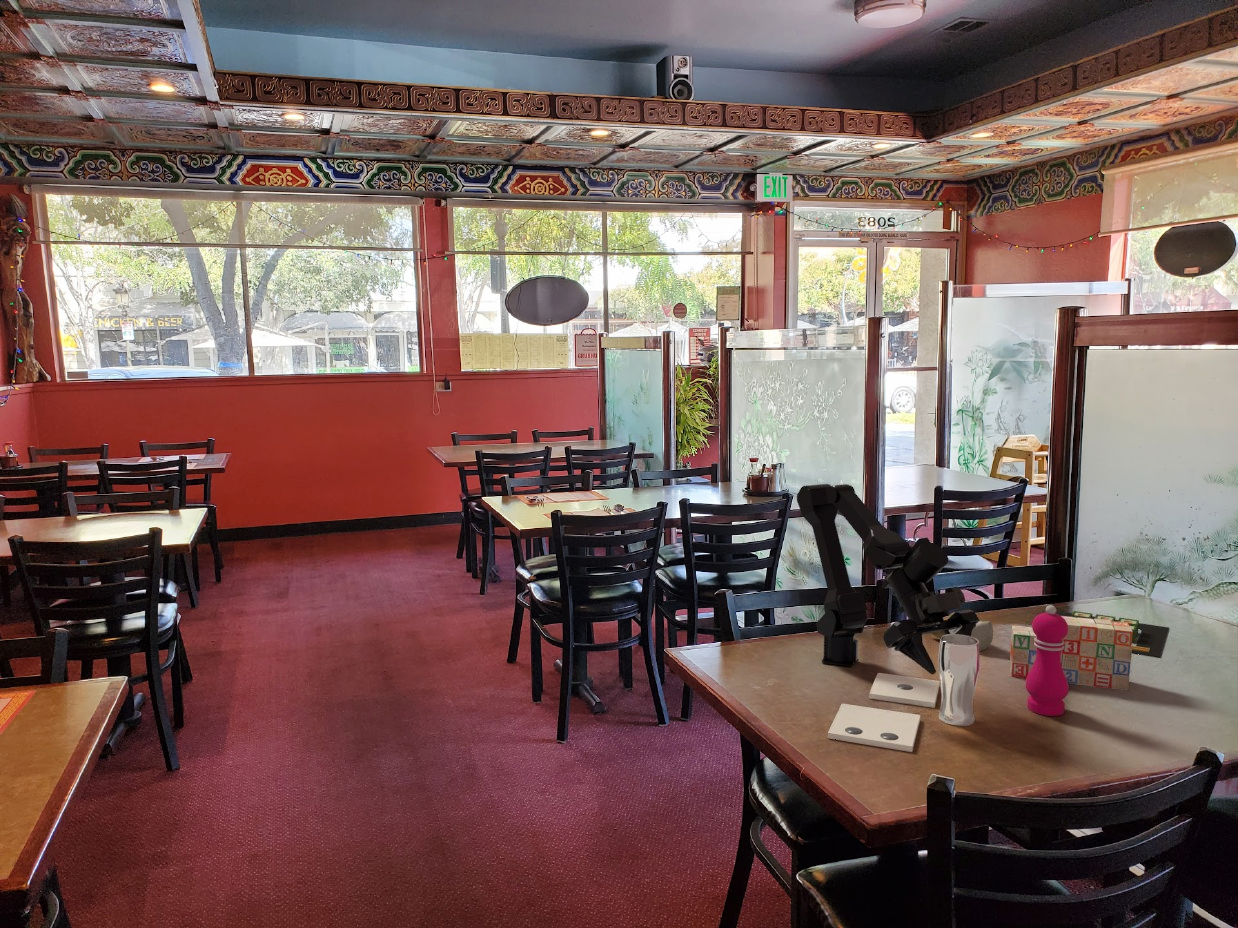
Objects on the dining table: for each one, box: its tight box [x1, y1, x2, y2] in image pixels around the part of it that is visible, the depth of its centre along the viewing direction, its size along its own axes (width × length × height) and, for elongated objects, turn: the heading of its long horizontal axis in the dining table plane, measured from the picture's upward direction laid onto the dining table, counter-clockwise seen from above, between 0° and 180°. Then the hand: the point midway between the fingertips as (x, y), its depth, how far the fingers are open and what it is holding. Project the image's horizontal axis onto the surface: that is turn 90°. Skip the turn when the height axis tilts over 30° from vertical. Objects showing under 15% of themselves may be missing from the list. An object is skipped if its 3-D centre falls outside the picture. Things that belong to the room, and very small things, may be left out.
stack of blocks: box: [1009, 616, 1133, 691], centre depth 181 cm, size 21×6×12 cm, turn 68°
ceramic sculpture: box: [930, 607, 994, 651], centre depth 203 cm, size 11×9×15 cm
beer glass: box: [937, 634, 981, 727], centre depth 161 cm, size 7×7×15 cm
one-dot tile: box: [868, 672, 941, 709], centre depth 175 cm, size 12×12×1 cm
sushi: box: [1055, 610, 1170, 659], centre depth 210 cm, size 25×25×4 cm
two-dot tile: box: [827, 703, 921, 753], centre depth 158 cm, size 14×14×1 cm
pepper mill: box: [1024, 604, 1070, 717], centre depth 164 cm, size 7×7×20 cm
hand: (953, 669), depth 162 cm, fingers open, 9 cm apart
